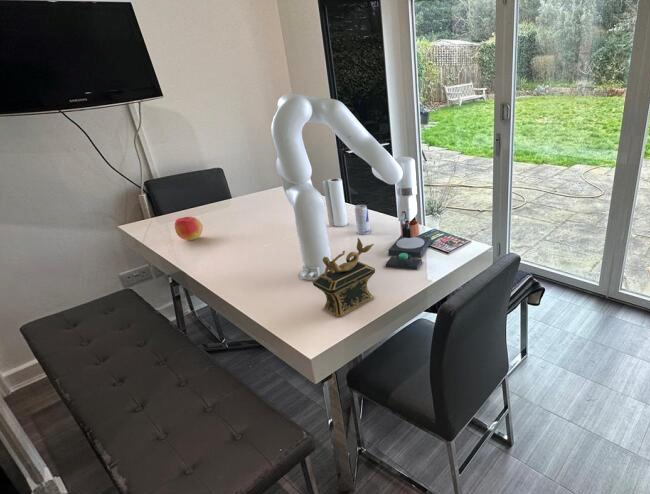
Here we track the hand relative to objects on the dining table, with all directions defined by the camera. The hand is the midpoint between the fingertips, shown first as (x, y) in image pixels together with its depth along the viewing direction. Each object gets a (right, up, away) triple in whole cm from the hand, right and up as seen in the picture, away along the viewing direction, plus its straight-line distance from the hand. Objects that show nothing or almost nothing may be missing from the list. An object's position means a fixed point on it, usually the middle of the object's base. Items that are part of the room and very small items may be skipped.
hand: (410, 233), depth 161 cm
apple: (-96, -2, +14) cm, 97 cm away
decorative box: (-13, -22, -33) cm, 42 cm away
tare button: (-1, -9, -11) cm, 15 cm away
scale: (0, -6, +3) cm, 7 cm away
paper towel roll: (-36, +4, +28) cm, 46 cm away
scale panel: (-1, -12, -10) cm, 16 cm away
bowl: (0, -1, 0) cm, 1 cm away
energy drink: (-23, +1, +19) cm, 30 cm away
